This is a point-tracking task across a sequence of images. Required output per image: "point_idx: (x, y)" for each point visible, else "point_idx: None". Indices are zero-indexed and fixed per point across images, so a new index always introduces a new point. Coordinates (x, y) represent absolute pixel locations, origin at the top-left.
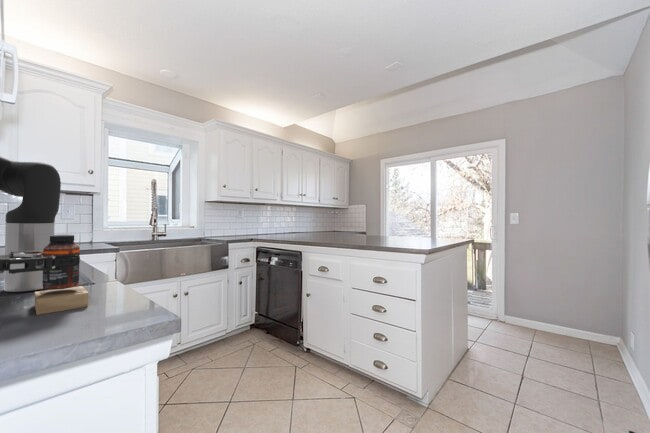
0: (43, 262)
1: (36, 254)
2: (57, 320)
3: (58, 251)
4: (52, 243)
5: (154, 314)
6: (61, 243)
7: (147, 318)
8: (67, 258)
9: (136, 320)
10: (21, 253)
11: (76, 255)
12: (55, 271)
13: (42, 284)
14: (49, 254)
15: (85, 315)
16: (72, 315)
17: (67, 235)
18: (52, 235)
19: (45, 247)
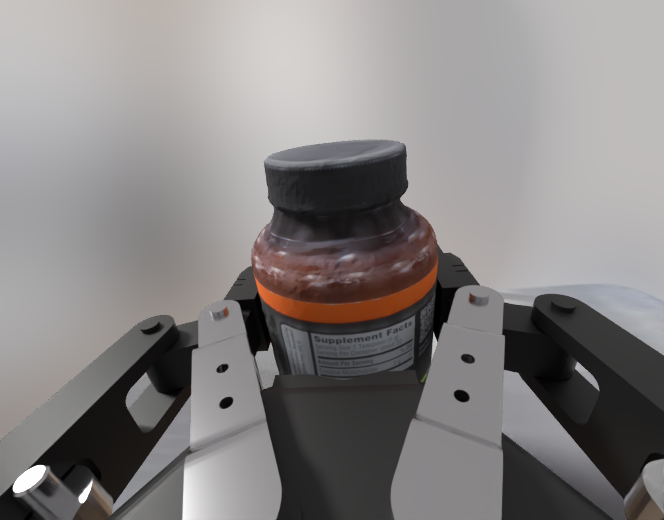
0: (365, 372)
1: (502, 342)
2: (603, 494)
3: (437, 256)
4: (384, 220)
5: (582, 300)
6: (399, 203)
7: (620, 312)
8: (469, 272)
9: (638, 327)
10: (473, 437)
11: (437, 245)
12: (429, 366)
13: None
14: (418, 300)
15: (547, 410)
16: (534, 442)
17: (389, 140)
18: (340, 157)
19: (368, 269)
